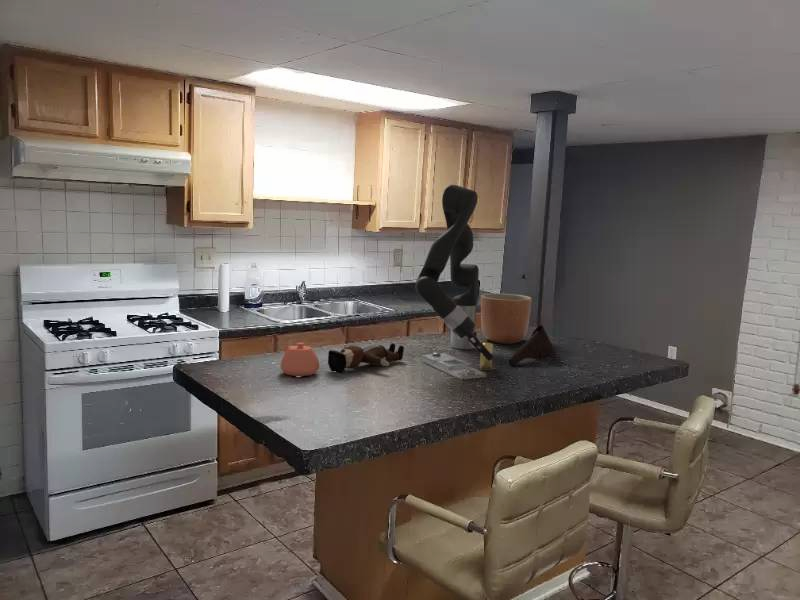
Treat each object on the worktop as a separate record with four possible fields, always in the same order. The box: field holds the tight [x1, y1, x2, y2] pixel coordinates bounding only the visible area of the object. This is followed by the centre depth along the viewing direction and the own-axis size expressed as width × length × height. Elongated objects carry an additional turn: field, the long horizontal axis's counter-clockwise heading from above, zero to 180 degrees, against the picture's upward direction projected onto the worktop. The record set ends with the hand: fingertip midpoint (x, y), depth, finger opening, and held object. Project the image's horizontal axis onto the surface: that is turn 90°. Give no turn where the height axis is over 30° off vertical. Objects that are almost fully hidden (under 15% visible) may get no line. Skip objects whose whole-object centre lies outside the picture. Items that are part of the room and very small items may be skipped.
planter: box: [480, 292, 532, 345], centre depth 267 cm, size 21×21×19 cm
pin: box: [479, 341, 494, 371], centre depth 218 cm, size 4×4×9 cm
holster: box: [508, 324, 556, 367], centre depth 235 cm, size 5×16×25 cm
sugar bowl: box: [280, 342, 320, 377], centre depth 203 cm, size 12×14×10 cm
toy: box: [327, 343, 405, 374], centre depth 216 cm, size 24×10×30 cm
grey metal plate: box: [421, 351, 487, 381], centre depth 217 cm, size 26×10×3 cm, turn 28°
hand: (490, 356), depth 218 cm, fingers open, 8 cm apart
